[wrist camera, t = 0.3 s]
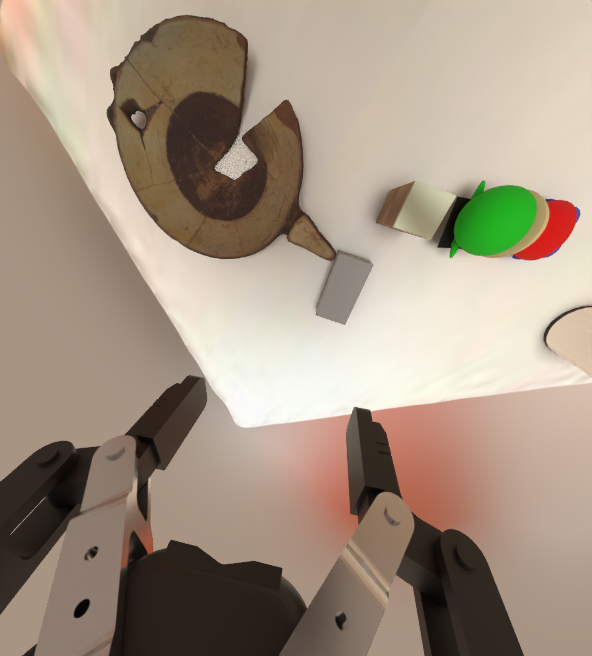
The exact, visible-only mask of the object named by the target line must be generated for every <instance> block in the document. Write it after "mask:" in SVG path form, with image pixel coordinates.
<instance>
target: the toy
mask: <svg viewBox="0 0 592 656" xmlns="http://www.w3.org/2000/svg"><path fill="white" fill-rule="evenodd" d="M484 187H485V181H482V183H481V184H480V185H479V186H478V188H477V190H476V191H475V193H474V195H473V197H472V198H471V199H467V198H462V197H457V199H456V202H455V204H454V207H453V209H452V212H451V214H450V217H449V219H448V222H447V224H446V227H445V229H444V232H443V234H442V237H441V239H440V242H439V244H438V247H440V248H451V251H450V258H452V257H453V256H454V255H455V253H456V252H457V250H458V249H463V250H464V251H466V252H468V253H470V254H473V255H477V256H484V257H489V258H499V257H505V256H509V255H512V254H513V257H512V258H515V259H523V260H537V259H540V258H545V257H548V256H551V255H553V254H554V253H556V252H557V251H558V250H559V248H560V247H561V245H562V244H563V243H564V242H565V241H566V240H567V238H568V237H569V236H570V234H571V232H572V231H573V228H574V226H575V224H576V222H577V221H578V219H579V217H580V210H579V209H578V208H577V207H574V205H573V204H572V203H570V202H568V201H564V200H554V199H544V198H543V197H542V196H541V195H539V194H538V193H536V192H534V191H531V190H527V189H525V188H523V187H519V186H513V185H506V186H499V187H495V188H492V189H489V190H487V191H484ZM483 191H484V192H483Z"/></svg>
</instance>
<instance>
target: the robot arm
mask: <svg viewBox="0 0 592 656" xmlns="http://www.w3.org/2000/svg"><path fill="white" fill-rule="evenodd" d="M206 402H207V393H206V387H205V380H204V378H202V377H197V376H192V375H189V376H187V377H186V378H185V379H184V380H183V382H182V383H181V384H179V383H176V384H174V385H173V386H171V387H170V388H168V389H166V391H165V392H164V393H163V394H162V395H161V396H160V397H159V399H157V400H156V402H154V404H153V406H151V407H150V408H149V409H148V410H147V411H146V412H145V414H144V415H143V416H142V417H141V418H140V419H139V420H138V421H137V422H136V423H135V424H134V425H133V427H131V429H130V430H129V431H128V432H127V433H126V434H125V435H122V436H118V437H115V438H112V439H110V440H109V441H107V442H105V443H104V444H103V445H102V446H97V447H88V448H79V449H75V447H74V446H73V444H72V443H71V442H68V441H58V442H54V443H51V444H49V445H46V446H44V447H42V448H41V449H39V450H37V451H36V452H35V453H33V454H32V455H31V456H30V457H29V458H27V459H26V460H25V461H24V462H23V463H22V464H20V465H19V466H18V467H17V468H16V469H15V470H14V471H12V472H11V473H10V474H9V475H8V476H7V477H6V478H4V479H3V480H2V481H1V482H0V614H1V613H2V612H3V610H4V609H5V608H6V606H7V605H8V604H9V603H10V601H11V600H12V599H13V598H14V596H15V595H16V594H17V592H18V591H19V590H20V589H21V587H22V586H23V585H24V583H25V582H26V581H27V580H28V578H29V577H30V576H31V574H32V573H33V572H34V570H35V569H36V568H37V567H38V565H39V564H40V562H41V561H42V560H43V559H44V558H45V556H46V555H47V554H48V553H49V551H50V550H51V549H52V547H53V546H54V545H55V543H56V542H57V541H58V540H59V538H60V537H61V536H62V535H63V533H64V532H65V531H66V533H65V537H64V541H63V545H62V549H61V553H60V557H59V561H58V565H57V568H56V572H55V576H54V581H53V584H52V588H51V592H50V596H49V600H48V604H47V608H46V612H45V615H44V619H43V623H42V627H41V631H40V635H39V639H38V643H37V644H36V645H35V646H33V647H32V648H31V649H30V650H29V651H27V652H26V653H25V654H24V655H23V656H367V653H368V651H369V648H370V646H371V643H372V641H373V638H374V636H375V633H376V631H377V629H378V626H379V624H380V621H381V619H382V616H383V614H384V611H385V609H386V606H387V603H388V599H389V589H390V587H391V584H392V582H393V579H394V577H395V575H397V576H399V577H400V578H401V579H403V580H404V581H406V582H407V583H409V584H410V585H411V586H413V590H414V595H415V602H416V607H417V613H418V619H419V625H420V631H421V637H422V643H423V649H424V655H425V656H524V655H523V652H522V649H521V647H520V644H519V642H518V639H517V637H516V634H515V632H514V629H513V627H512V624H511V621H510V619H509V616H508V614H507V611H506V609H505V606H504V604H503V601H502V599H501V596H500V593H499V591H498V588H497V586H496V584H495V581H494V578H493V576H492V573H491V570H490V568H489V566H488V563H487V561H486V559H485V557H484V555H483V553H482V552H481V550H480V549H479V548H478V546H477V545H476V544H475V543H474V542H473V541H472V540H471V539H470V538H469V537H468V536H466V535H465V534H463V533H462V532H460V531H457V530H453V529H448V530H446V531H444V532H441V531H440V530H438V529H436V528H435V527H433V526H431V525H429V524H428V523H426V522H424V521H423V520H421V519H420V518H418V517H417V516H416V515H414V514H413V513H412V512H411V510H410V509H409V507H408V506H407V504H406V503H405V502H404V501H403V499H402V496H401V494H400V490H399V486H398V481H397V477H396V474H395V469H394V465H393V460H392V456H391V452H390V447H389V446H388V445H389V443H388V439H387V435H386V432H385V431H384V429H383V427H382V426H381V424H380V423H377V422H372V417H371V412H370V410H368V409H363V408H358V407H354V408H353V411H352V414H351V417H350V420H349V423H348V426H347V432H346V443H347V461H348V479H349V496H350V513H351V514H353V515H357V516H358V523H359V526H358V528H357V529H356V531H355V533H354V534H353V536H352V538H351V539H350V541H349V543H348V544H347V545H346V547H345V548H344V550H343V552H342V553H341V555H340V557H339V558H338V560H337V561H336V563H335V565H334V566H333V568H332V570H331V571H330V573H329V574H328V576H327V578H326V579H325V581H324V583H323V584H322V586H321V587H320V589H319V591H318V592H317V594H316V596H315V597H314V599H313V600H312V602H311V604H310V605H309V607H308V609H307V607H306V605H305V603H304V601H303V599H302V598H301V596H300V594H299V593H298V591H297V590H296V589H295V588H294V586H292V584H291V583H290V582H289V581H287V580H286V579H285V578H284V577H282V576H281V575H282V568H280V567H276V566H272V565H268V564H264V563H260V562H256V561H250V562H242V563H233V564H220V563H219V562H217V561H216V560H215V559H213V558H212V557H211V556H209V555H208V554H207V553H205V552H204V551H203V550H201V549H200V548H199V547H197V546H193V545H189V544H185V543H181V542H178V541H174V540H171V541H170V542H169V544H168V547H167V548H166V549H161V550H157V551H155V552H153V537H152V532H151V524H150V512H151V511H150V510H151V505H150V503H151V477H150V476H151V474H152V473H153V472H154V470H155V469H160V470H165V469H166V467H167V466H168V464H169V463H170V461H171V459H172V458H173V456H174V455H175V453H176V452H177V450H178V448H179V447H180V445H181V444H182V442H183V441H184V439H185V438H186V436H187V435H188V433H189V431H190V430H191V428H192V427H193V425H194V424H195V422H196V420H197V419H198V418H199V416H200V414H201V413H202V411H203V410H204V408H205V406H206ZM43 498H45V499H44V500H43V501H42V502H41V503H40V501H41V500H42V499H43ZM39 503H40V504H39ZM38 504H39V505H38ZM37 505H38V506H37ZM36 506H37V507H36ZM35 507H36V508H35ZM34 508H35V509H34ZM33 509H34V510H33ZM32 510H33V512H32V513H31V514H30V515H29V516H28V517H27V518H26V519H25V517H26V516H27V515H28V514H29V513H30V512H31V511H32ZM24 519H25V520H24ZM23 520H24V521H23ZM22 521H23V522H22ZM21 522H22V523H21ZM20 523H21V524H20ZM19 524H20V526H19V527H18V528H17V529H16V530H15V531H14V532H13V533H12V531H13V530H14V529H15V528H16V527H17V526H18V525H19ZM11 533H12V534H11ZM10 534H11V535H10Z"/></svg>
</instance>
